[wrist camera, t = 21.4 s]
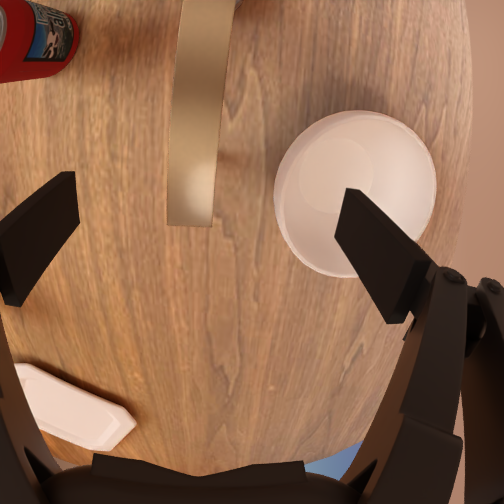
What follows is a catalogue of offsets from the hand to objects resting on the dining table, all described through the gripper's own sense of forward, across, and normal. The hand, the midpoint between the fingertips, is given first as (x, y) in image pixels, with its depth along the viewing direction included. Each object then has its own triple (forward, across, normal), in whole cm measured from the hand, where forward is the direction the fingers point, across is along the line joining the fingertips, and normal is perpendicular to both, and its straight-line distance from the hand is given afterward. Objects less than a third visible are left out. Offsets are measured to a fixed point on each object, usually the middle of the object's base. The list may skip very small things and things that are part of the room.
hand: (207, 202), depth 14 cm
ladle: (+15, -1, +7) cm, 17 cm away
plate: (+15, -26, -47) cm, 56 cm away
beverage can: (+15, -16, +10) cm, 25 cm away
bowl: (+16, +12, -2) cm, 20 cm away
